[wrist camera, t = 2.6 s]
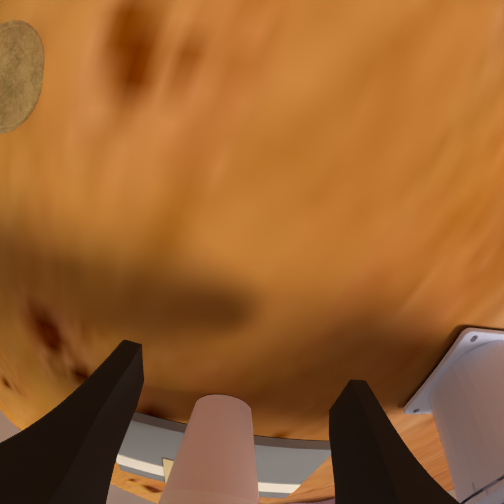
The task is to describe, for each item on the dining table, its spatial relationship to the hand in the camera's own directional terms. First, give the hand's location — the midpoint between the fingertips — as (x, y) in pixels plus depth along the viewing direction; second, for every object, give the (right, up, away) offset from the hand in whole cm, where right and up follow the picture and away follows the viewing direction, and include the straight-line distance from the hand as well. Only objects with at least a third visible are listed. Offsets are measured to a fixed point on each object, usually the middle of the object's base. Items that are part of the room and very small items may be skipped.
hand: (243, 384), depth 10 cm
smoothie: (-2, -6, +9) cm, 11 cm away
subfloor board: (-3, -14, +14) cm, 20 cm away
